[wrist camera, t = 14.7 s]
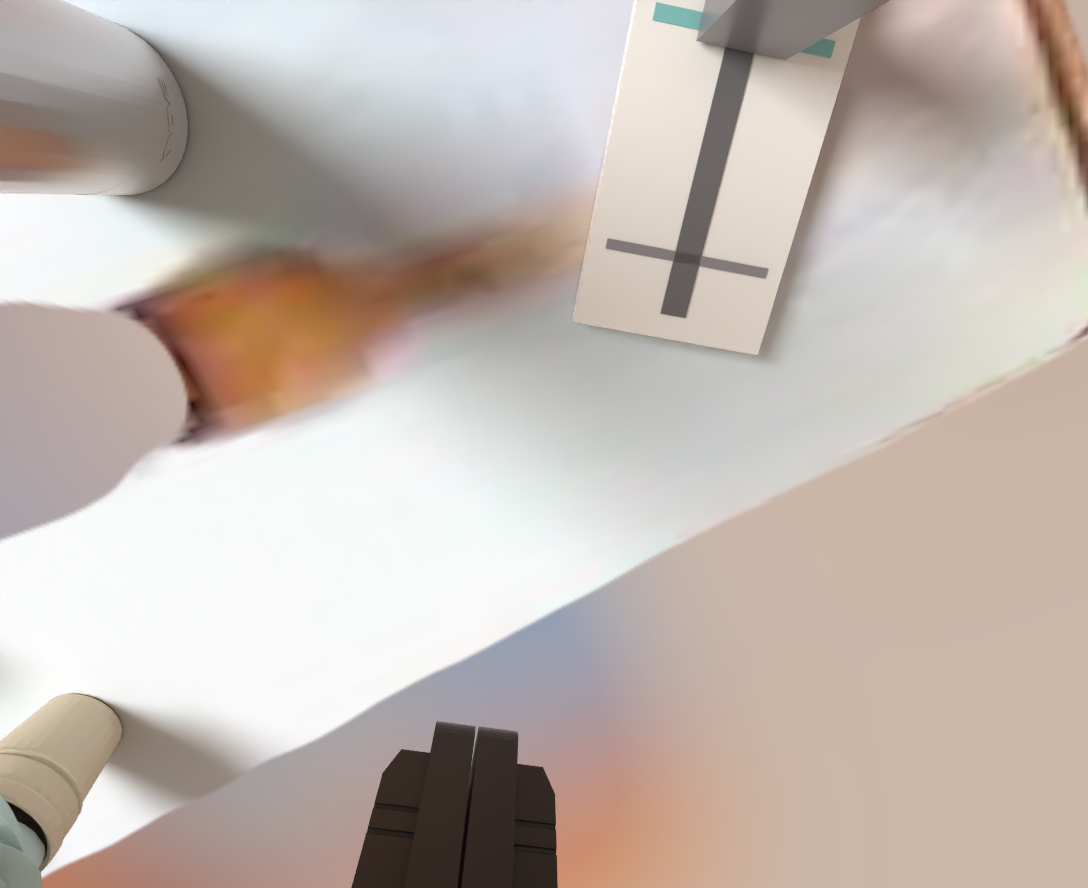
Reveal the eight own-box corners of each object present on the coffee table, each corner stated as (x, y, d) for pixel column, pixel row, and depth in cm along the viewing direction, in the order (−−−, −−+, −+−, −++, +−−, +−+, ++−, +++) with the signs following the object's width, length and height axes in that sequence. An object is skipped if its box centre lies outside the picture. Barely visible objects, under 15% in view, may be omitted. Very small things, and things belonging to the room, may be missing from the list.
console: (572, 316, 41) (574, 322, 39) (670, -186, 32) (678, -211, 30) (747, 348, 42) (758, 355, 40) (892, -133, 33) (914, -154, 31)
